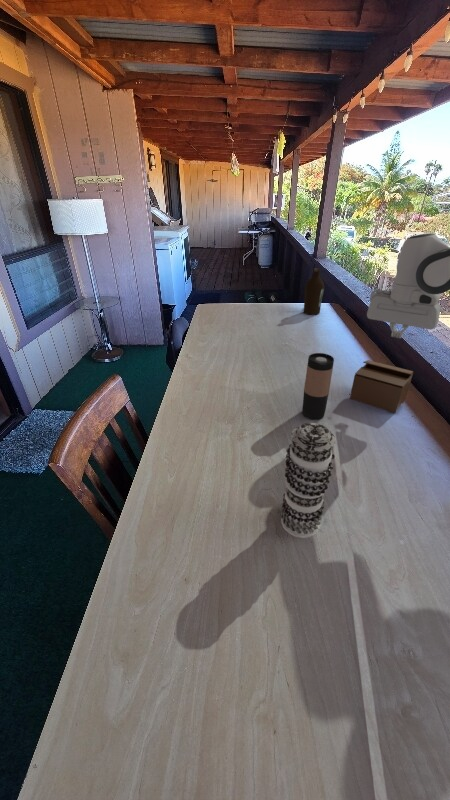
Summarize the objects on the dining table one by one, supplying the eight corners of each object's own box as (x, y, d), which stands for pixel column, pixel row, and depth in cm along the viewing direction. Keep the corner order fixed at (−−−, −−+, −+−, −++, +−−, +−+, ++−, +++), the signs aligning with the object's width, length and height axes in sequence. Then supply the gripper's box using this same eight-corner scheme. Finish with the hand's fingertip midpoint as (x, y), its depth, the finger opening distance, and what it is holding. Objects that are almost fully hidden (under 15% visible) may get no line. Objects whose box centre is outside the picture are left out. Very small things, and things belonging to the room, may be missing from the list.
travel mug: (311, 405, 119) (318, 350, 109) (329, 414, 114) (339, 358, 104) (296, 413, 115) (302, 357, 105) (315, 423, 110) (324, 365, 100)
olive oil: (301, 314, 205) (306, 270, 193) (303, 309, 214) (307, 266, 201) (320, 316, 203) (326, 271, 190) (320, 310, 212) (326, 267, 199)
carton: (348, 402, 121) (354, 373, 115) (361, 387, 130) (368, 360, 124) (394, 416, 113) (403, 386, 107) (404, 400, 122) (413, 371, 116)
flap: (362, 362, 119) (363, 361, 119) (368, 360, 124) (368, 360, 124) (409, 374, 111) (410, 373, 111) (413, 372, 116) (413, 371, 116)
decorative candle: (284, 501, 83) (294, 412, 70) (324, 512, 80) (342, 422, 67) (274, 531, 75) (283, 438, 62) (317, 545, 72) (336, 450, 59)
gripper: (368, 290, 108) (360, 333, 115) (442, 300, 97) (428, 346, 104) (375, 286, 113) (367, 328, 120) (446, 295, 101) (433, 340, 108)
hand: (396, 336), depth 112 cm, fingers closed
